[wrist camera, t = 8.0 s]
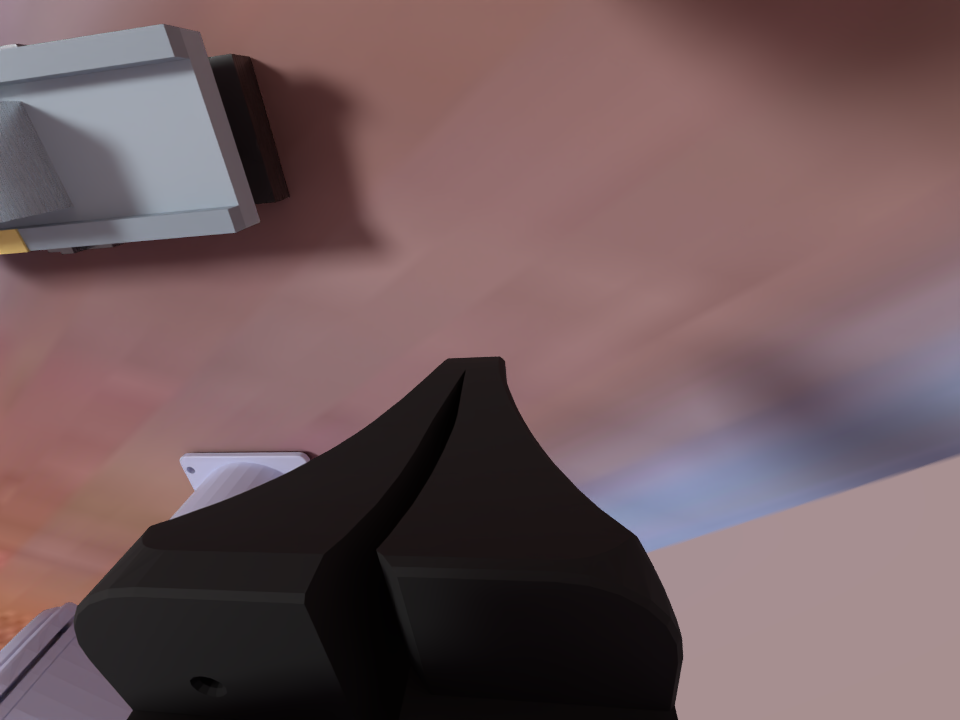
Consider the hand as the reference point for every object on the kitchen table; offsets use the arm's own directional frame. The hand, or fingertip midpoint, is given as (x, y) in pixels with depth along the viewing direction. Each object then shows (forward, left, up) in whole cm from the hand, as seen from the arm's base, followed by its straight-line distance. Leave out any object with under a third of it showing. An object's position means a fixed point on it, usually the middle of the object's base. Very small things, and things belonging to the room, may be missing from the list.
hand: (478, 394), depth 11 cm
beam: (+6, +18, -8) cm, 21 cm away
